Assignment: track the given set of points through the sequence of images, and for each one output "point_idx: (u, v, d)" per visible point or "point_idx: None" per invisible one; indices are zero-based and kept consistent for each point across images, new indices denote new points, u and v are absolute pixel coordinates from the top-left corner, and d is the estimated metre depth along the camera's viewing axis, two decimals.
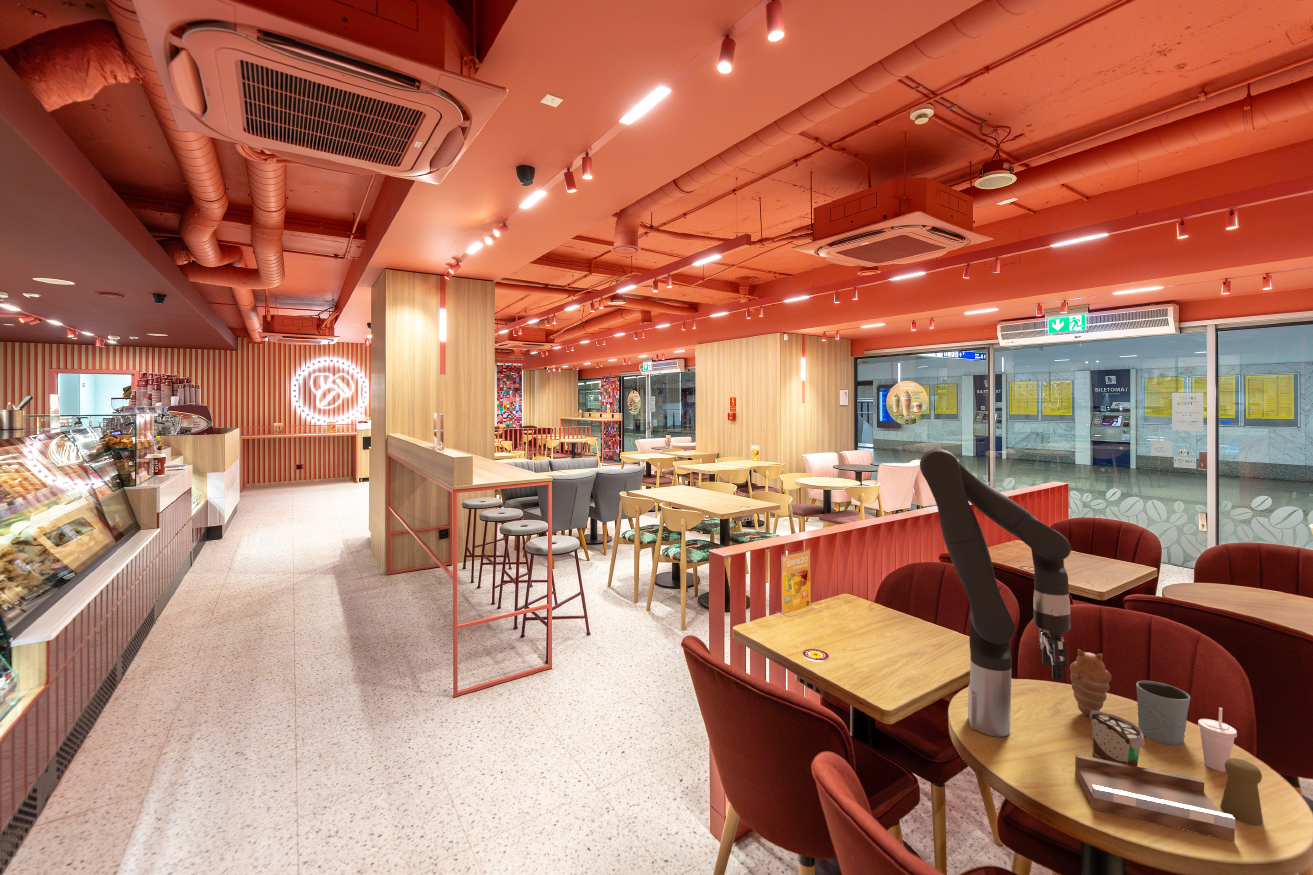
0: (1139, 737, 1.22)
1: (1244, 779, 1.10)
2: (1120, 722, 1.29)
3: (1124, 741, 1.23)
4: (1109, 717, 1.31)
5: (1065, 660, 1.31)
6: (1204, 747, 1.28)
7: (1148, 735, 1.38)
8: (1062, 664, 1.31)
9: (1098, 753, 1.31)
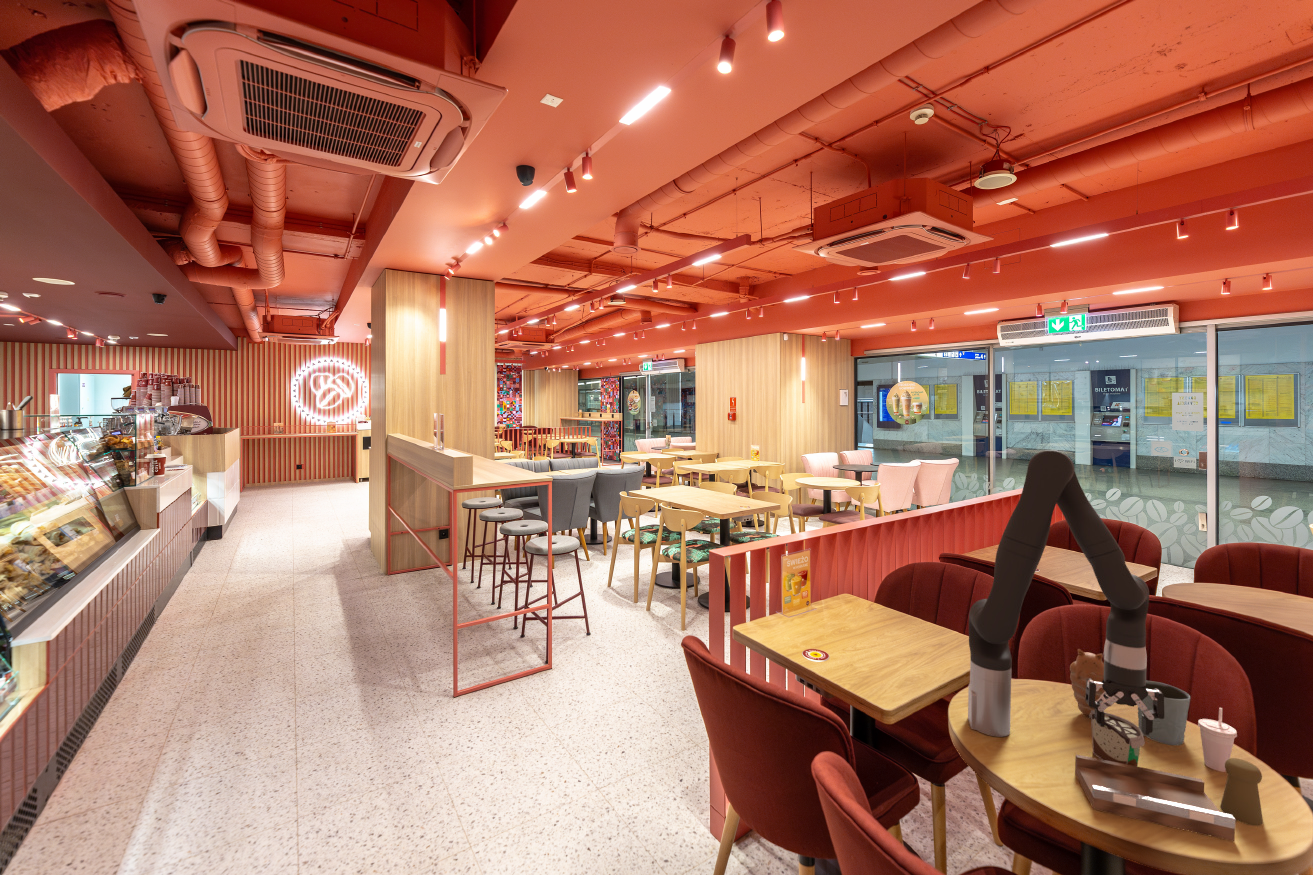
0: (1139, 737, 1.22)
1: (1245, 779, 1.10)
2: (1120, 722, 1.29)
3: (1124, 741, 1.24)
4: (1109, 717, 1.31)
5: None
6: (1204, 747, 1.28)
7: (1148, 735, 1.38)
8: None
9: (1098, 753, 1.31)
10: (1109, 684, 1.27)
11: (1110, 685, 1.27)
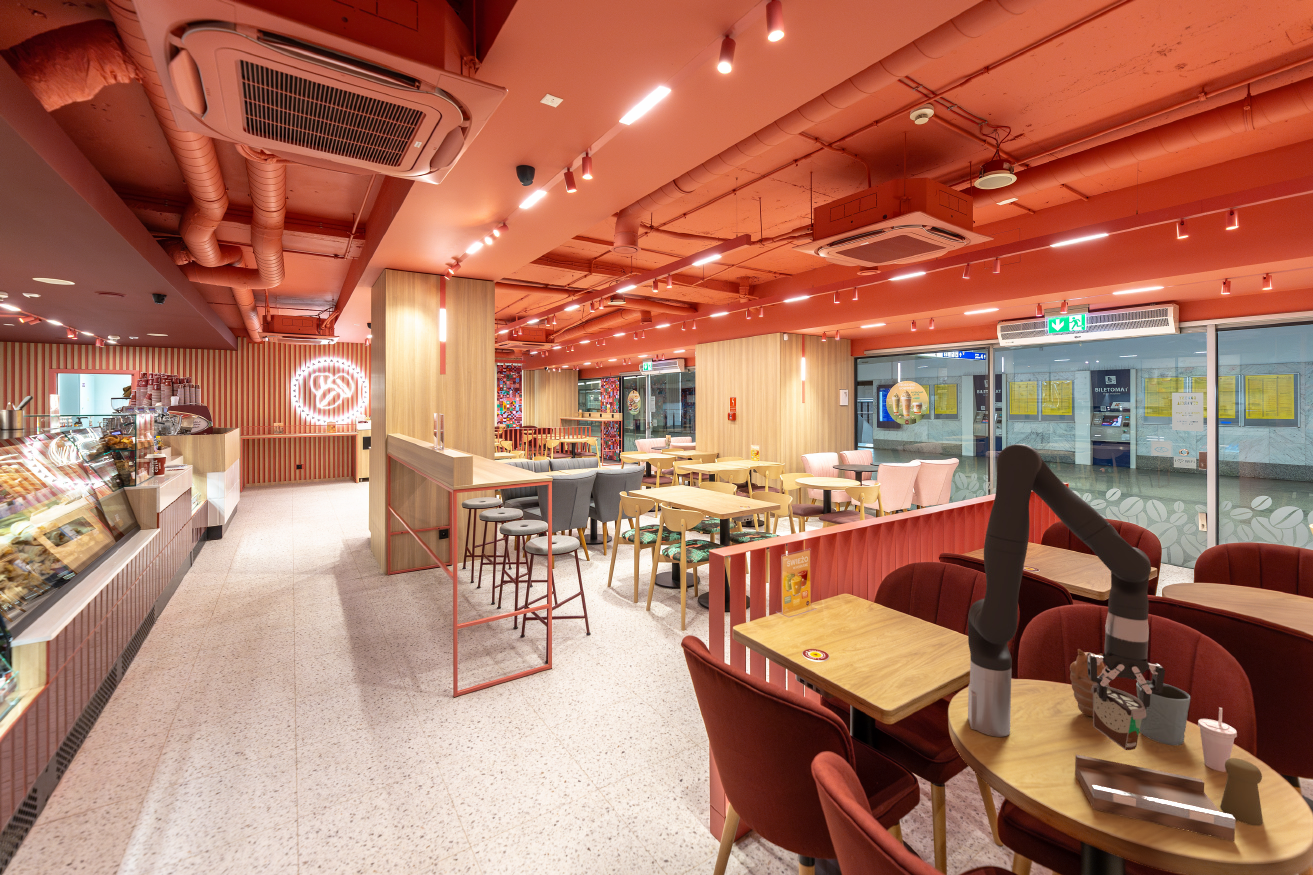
0: (1141, 709, 1.22)
1: (1245, 779, 1.10)
2: (1122, 696, 1.29)
3: (1126, 713, 1.23)
4: (1111, 691, 1.31)
5: None
6: (1204, 747, 1.28)
7: (1148, 735, 1.38)
8: None
9: (1098, 726, 1.30)
10: (1109, 657, 1.27)
11: (1110, 658, 1.27)
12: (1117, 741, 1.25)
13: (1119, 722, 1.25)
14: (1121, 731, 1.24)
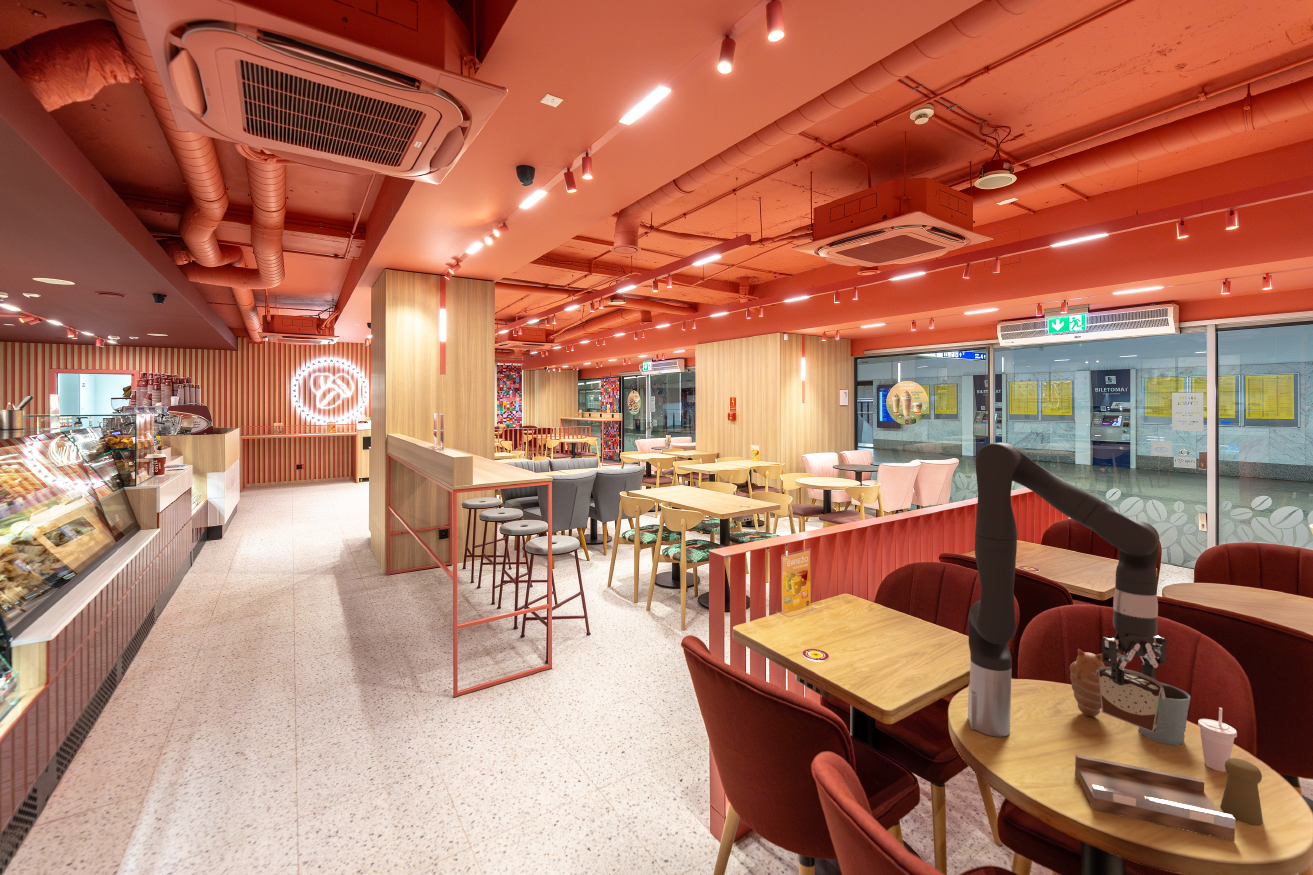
0: (1161, 686, 1.18)
1: (1244, 779, 1.10)
2: (1125, 674, 1.25)
3: (1150, 693, 1.18)
4: None
5: None
6: (1204, 747, 1.28)
7: (1148, 735, 1.38)
8: None
9: (1110, 711, 1.24)
10: (1126, 638, 1.21)
11: (1127, 638, 1.21)
12: (1139, 724, 1.20)
13: (1141, 704, 1.19)
14: (1145, 713, 1.19)
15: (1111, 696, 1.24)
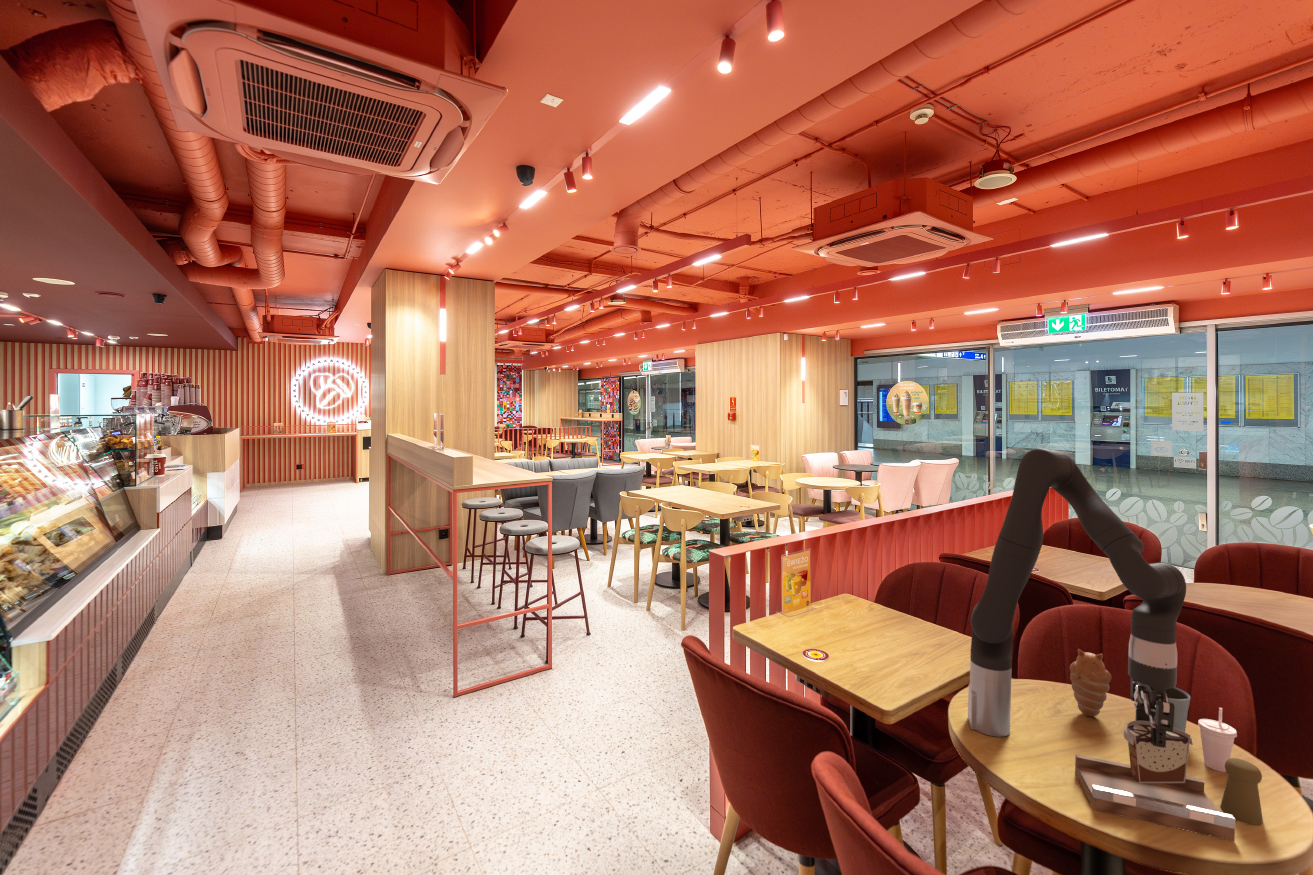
0: None
1: (1244, 779, 1.10)
2: (1134, 727, 1.16)
3: (1181, 743, 1.12)
4: (1130, 730, 1.15)
5: None
6: (1204, 747, 1.28)
7: None
8: None
9: (1146, 778, 1.12)
10: None
11: None
12: (1172, 779, 1.12)
13: (1174, 758, 1.12)
14: (1177, 766, 1.12)
15: (1147, 761, 1.12)
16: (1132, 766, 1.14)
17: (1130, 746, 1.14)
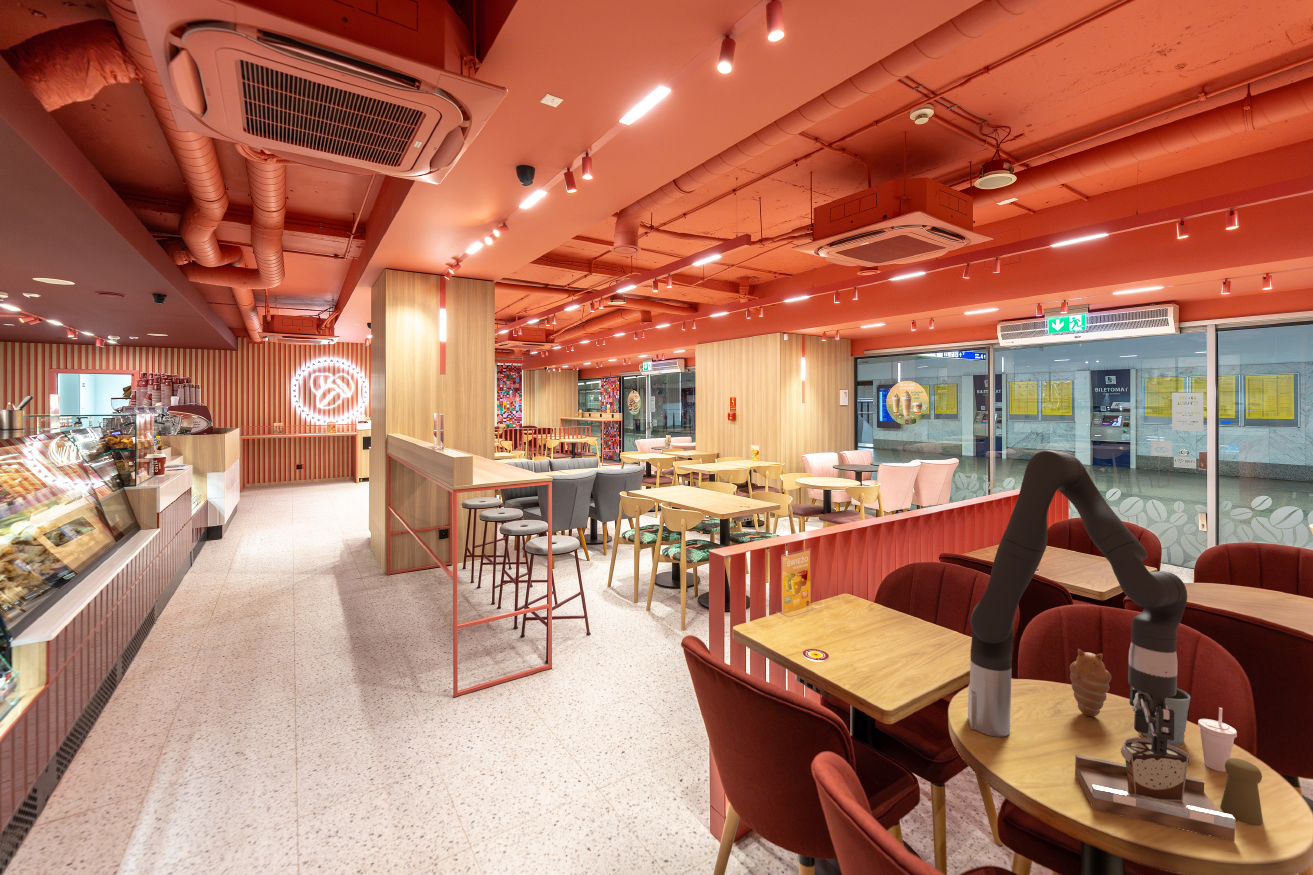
0: None
1: (1245, 779, 1.10)
2: (1132, 745, 1.16)
3: (1179, 761, 1.12)
4: (1127, 747, 1.15)
5: None
6: (1204, 747, 1.28)
7: (1148, 735, 1.38)
8: None
9: (1143, 795, 1.13)
10: None
11: None
12: (1169, 798, 1.12)
13: (1171, 776, 1.12)
14: (1174, 784, 1.12)
15: (1144, 778, 1.12)
16: (1129, 783, 1.14)
17: (1127, 763, 1.14)
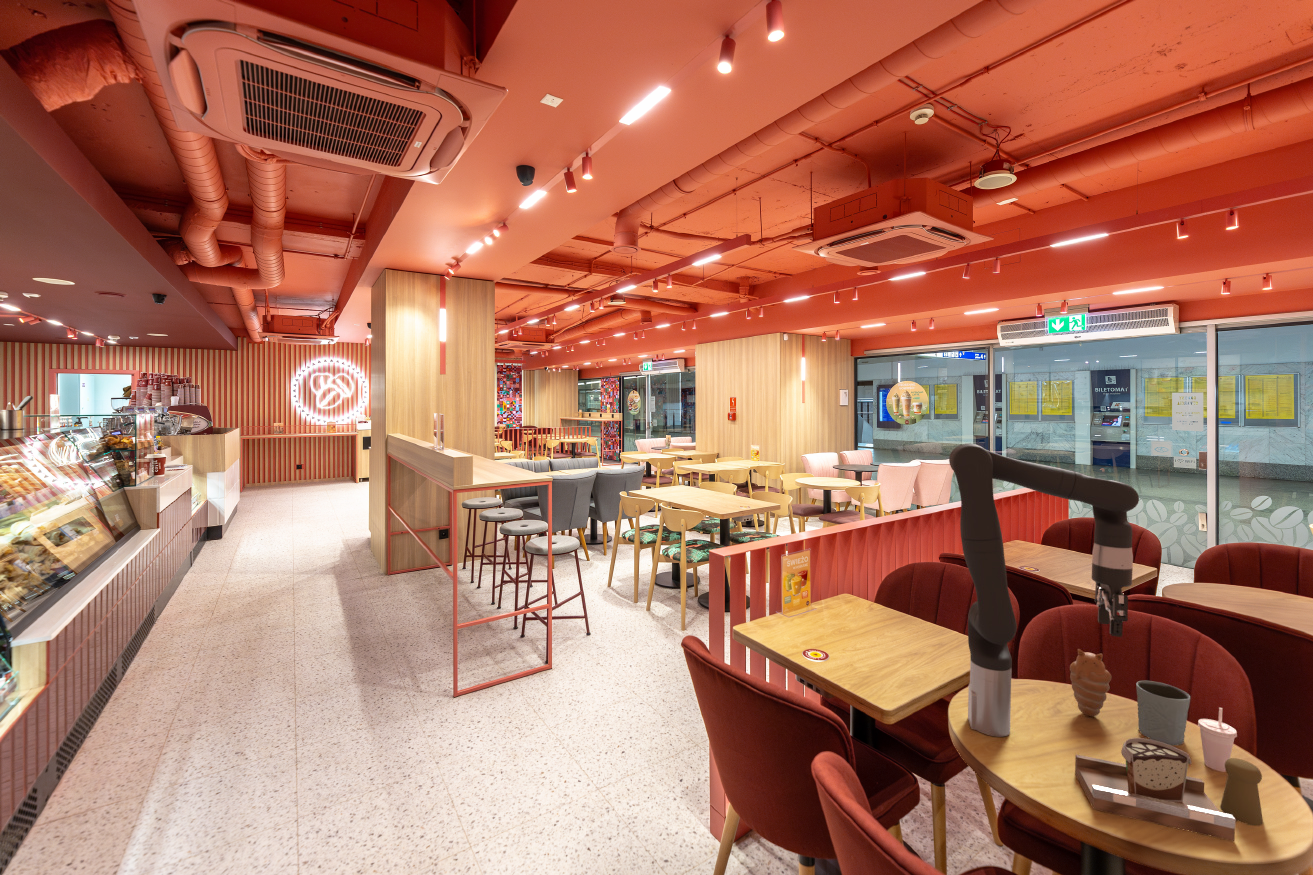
0: None
1: (1244, 779, 1.10)
2: (1133, 745, 1.16)
3: (1180, 762, 1.12)
4: (1128, 747, 1.15)
5: None
6: (1204, 747, 1.28)
7: (1148, 735, 1.38)
8: None
9: None
10: None
11: None
12: (1169, 798, 1.12)
13: (1171, 776, 1.12)
14: (1175, 785, 1.12)
15: (1144, 779, 1.12)
16: (1129, 783, 1.14)
17: (1127, 763, 1.14)
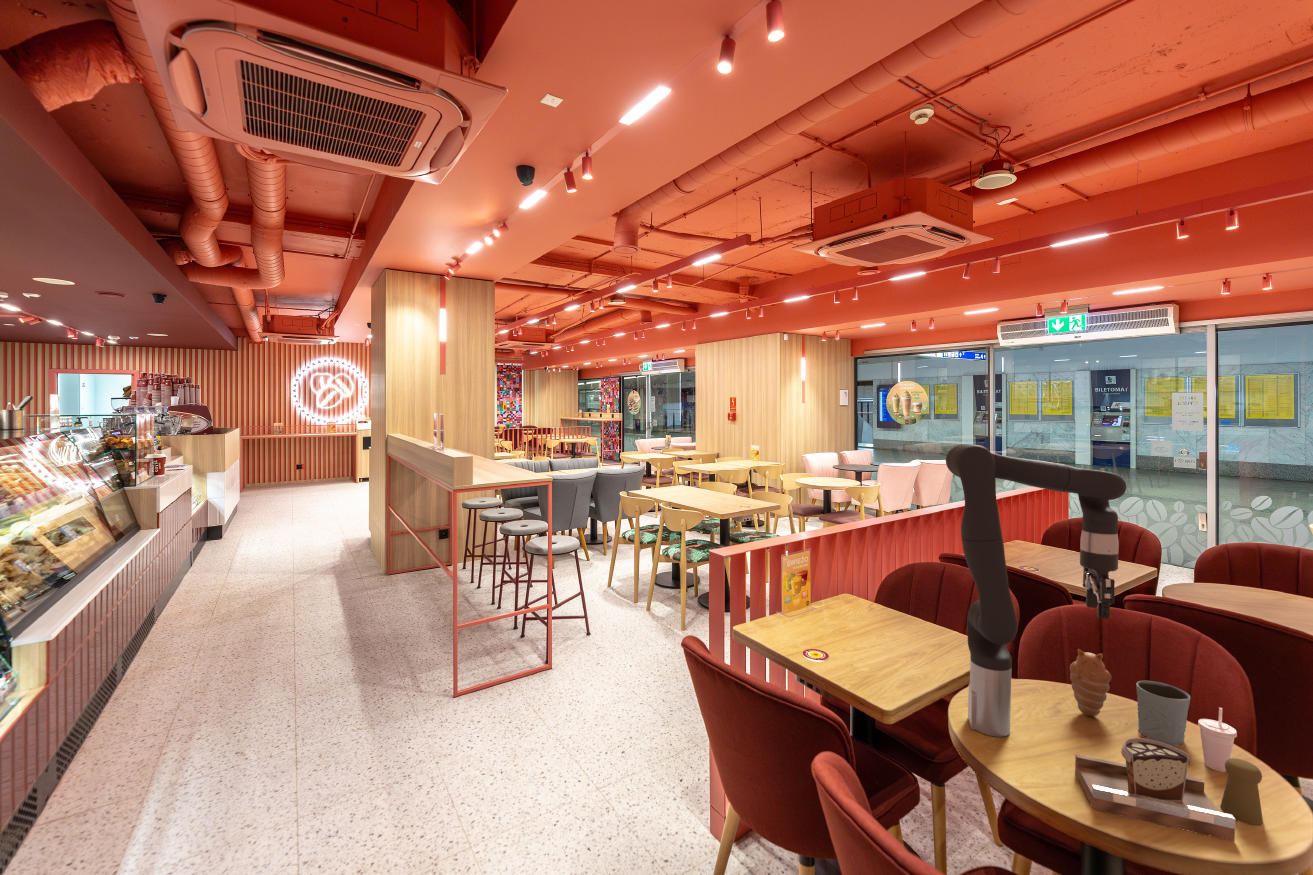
0: None
1: (1245, 779, 1.10)
2: (1133, 745, 1.16)
3: (1180, 762, 1.12)
4: (1128, 747, 1.15)
5: None
6: (1204, 747, 1.28)
7: (1148, 735, 1.38)
8: None
9: None
10: None
11: None
12: (1169, 798, 1.12)
13: (1171, 776, 1.12)
14: (1175, 785, 1.12)
15: (1144, 779, 1.12)
16: (1129, 783, 1.14)
17: (1127, 763, 1.14)
